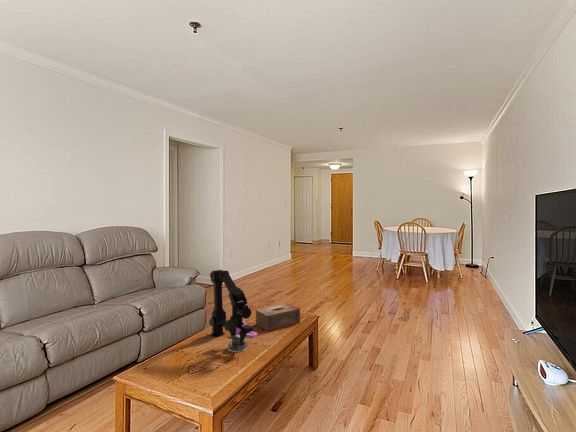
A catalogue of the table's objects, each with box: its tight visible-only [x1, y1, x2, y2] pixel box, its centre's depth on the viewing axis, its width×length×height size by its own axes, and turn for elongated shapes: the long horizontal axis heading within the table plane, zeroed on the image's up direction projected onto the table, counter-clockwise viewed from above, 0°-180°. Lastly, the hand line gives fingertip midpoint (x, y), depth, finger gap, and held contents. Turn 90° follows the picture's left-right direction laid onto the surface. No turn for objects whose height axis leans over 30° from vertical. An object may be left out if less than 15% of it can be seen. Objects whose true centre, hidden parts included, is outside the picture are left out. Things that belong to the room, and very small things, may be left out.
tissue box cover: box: [255, 303, 301, 332], centre depth 223 cm, size 26×14×10 cm, turn 124°
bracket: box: [236, 320, 258, 338], centre depth 204 cm, size 13×6×7 cm, turn 65°
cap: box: [231, 334, 243, 346], centre depth 185 cm, size 6×6×4 cm
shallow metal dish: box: [227, 340, 249, 353], centre depth 185 cm, size 11×11×2 cm
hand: (237, 341), depth 185 cm, fingers closed on cap, 6 cm apart
